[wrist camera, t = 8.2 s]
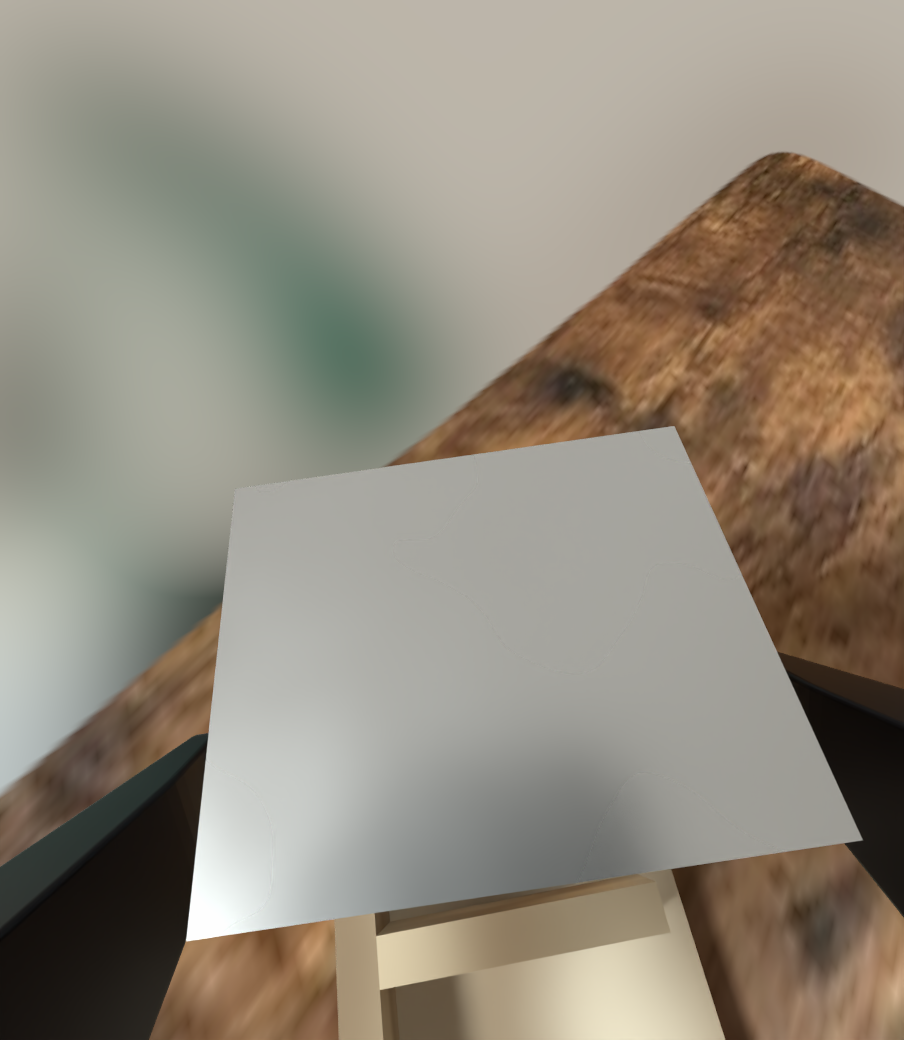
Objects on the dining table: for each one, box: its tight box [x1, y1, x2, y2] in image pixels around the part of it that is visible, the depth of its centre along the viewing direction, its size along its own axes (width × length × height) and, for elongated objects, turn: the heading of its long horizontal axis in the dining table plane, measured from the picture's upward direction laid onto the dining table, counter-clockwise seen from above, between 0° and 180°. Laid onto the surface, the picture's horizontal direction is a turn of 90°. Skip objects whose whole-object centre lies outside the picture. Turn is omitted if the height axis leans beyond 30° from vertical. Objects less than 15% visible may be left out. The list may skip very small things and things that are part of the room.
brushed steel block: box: [186, 426, 863, 941], centre depth 10 cm, size 4×5×13 cm
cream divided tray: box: [335, 869, 725, 1040], centre depth 13 cm, size 9×17×3 cm, turn 9°
